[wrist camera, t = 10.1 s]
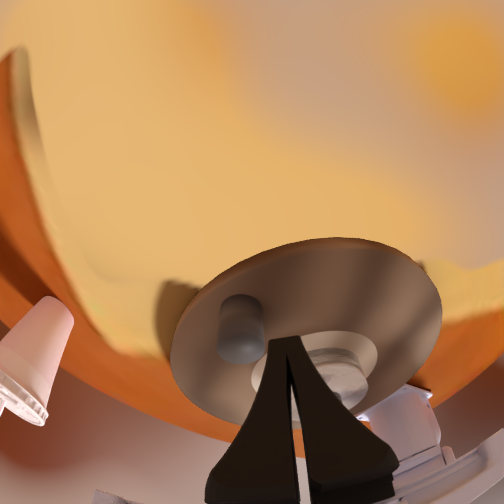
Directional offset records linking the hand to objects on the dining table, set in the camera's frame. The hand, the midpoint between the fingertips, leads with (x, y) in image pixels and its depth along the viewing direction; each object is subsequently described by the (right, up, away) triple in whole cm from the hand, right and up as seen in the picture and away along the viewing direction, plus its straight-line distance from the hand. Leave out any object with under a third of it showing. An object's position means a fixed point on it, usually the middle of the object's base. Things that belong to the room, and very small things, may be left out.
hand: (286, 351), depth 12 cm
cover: (+3, -5, +8) cm, 10 cm away
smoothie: (-18, -1, +7) cm, 19 cm away
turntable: (+3, -4, +9) cm, 11 cm away
